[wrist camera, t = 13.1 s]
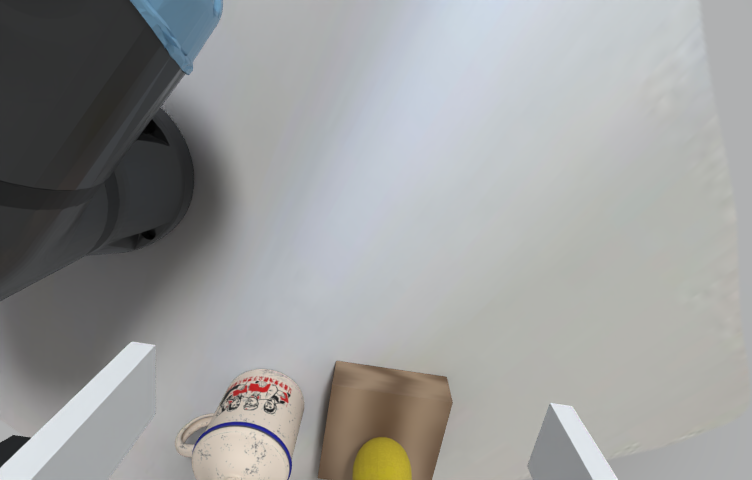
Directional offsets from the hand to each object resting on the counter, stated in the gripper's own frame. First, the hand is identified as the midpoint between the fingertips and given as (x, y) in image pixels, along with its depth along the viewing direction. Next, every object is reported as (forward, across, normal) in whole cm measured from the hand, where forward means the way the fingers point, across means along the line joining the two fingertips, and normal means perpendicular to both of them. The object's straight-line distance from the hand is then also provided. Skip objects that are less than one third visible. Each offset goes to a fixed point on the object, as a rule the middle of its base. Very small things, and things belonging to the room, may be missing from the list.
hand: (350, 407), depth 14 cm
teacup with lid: (+27, -9, -24) cm, 37 cm away
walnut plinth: (+27, +5, -23) cm, 36 cm away
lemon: (+23, +5, -23) cm, 33 cm away
